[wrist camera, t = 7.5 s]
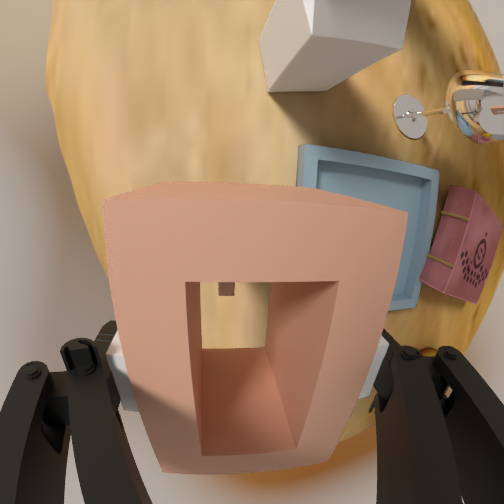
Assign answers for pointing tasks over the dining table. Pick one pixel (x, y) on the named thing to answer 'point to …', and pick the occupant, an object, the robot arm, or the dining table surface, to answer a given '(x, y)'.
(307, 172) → the tray
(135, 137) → the dining table surface
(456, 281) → the book
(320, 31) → the milk carton
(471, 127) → the wineglass
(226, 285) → the grey t-shaped piece
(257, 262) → the pink window frame
